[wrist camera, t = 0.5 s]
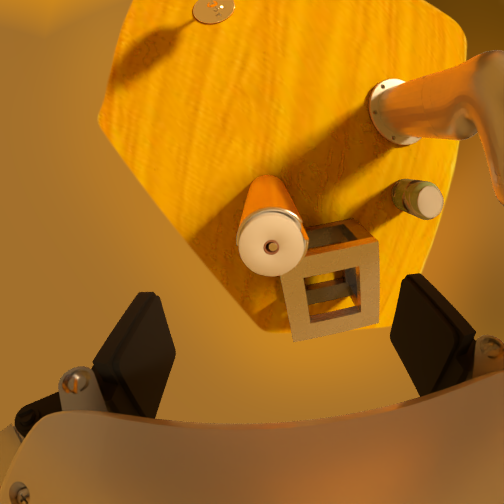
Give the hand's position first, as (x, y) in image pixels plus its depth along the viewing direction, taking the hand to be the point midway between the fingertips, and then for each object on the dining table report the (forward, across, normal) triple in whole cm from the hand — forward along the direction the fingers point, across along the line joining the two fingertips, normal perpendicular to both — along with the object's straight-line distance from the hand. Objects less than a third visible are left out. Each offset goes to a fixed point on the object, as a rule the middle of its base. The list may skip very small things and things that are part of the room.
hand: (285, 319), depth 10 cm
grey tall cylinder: (+39, 0, +2) cm, 39 cm away
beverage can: (+38, -26, +2) cm, 46 cm away
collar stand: (+38, -10, +16) cm, 43 cm away
